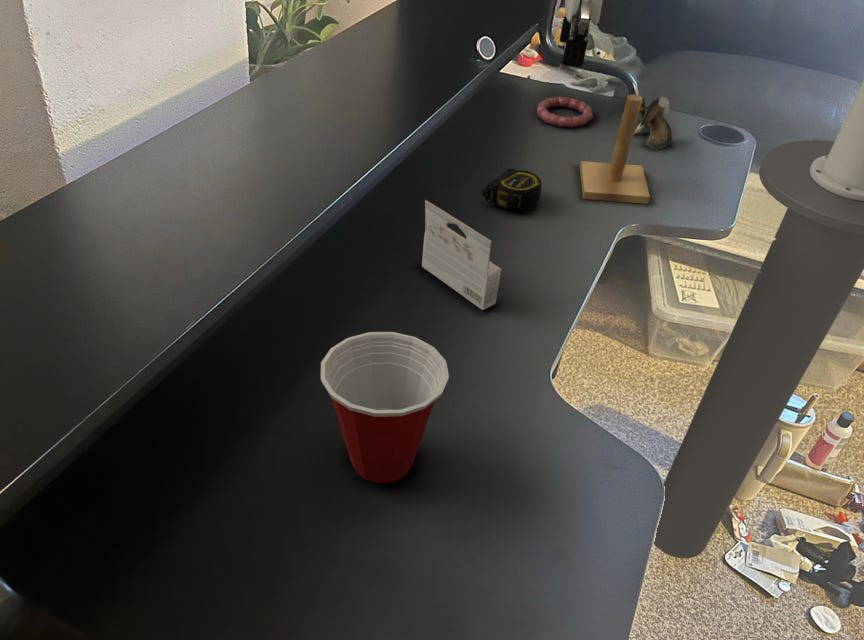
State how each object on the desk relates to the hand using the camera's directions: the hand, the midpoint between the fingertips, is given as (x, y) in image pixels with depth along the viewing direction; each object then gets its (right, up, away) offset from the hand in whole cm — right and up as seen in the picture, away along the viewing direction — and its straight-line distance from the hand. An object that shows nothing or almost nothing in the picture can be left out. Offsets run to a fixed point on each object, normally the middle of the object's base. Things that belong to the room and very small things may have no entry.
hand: (570, 53), depth 120 cm
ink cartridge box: (-22, -41, -31) cm, 56 cm away
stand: (+3, -25, -13) cm, 28 cm away
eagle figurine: (+12, -14, -1) cm, 19 cm away
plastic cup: (-31, -60, -51) cm, 84 cm away
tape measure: (-13, -28, -17) cm, 35 cm away
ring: (0, -9, +3) cm, 9 cm away
